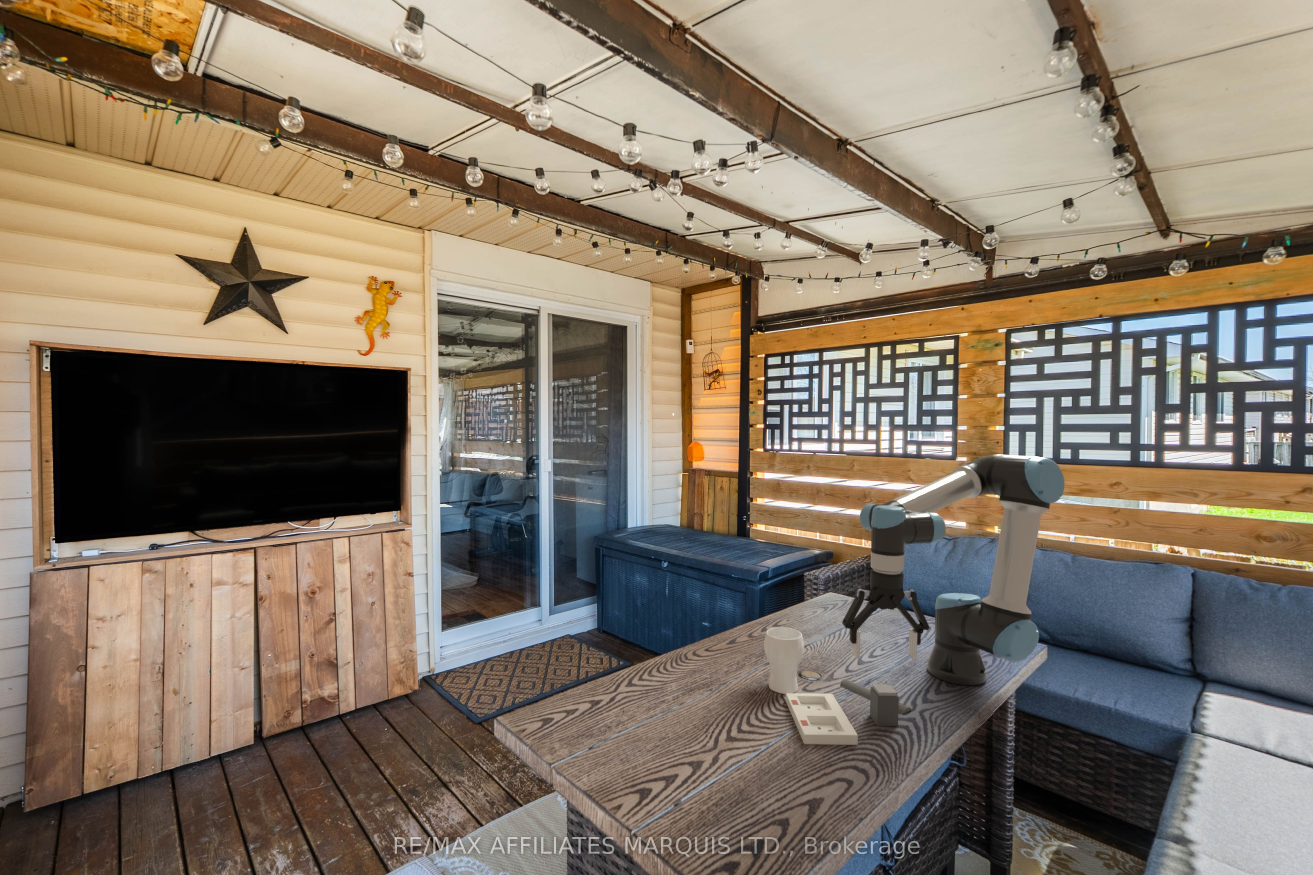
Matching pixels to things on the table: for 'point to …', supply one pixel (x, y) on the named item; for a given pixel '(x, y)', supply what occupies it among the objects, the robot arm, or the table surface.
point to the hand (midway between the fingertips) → (884, 656)
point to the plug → (884, 705)
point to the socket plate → (820, 719)
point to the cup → (783, 658)
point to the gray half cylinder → (868, 693)
